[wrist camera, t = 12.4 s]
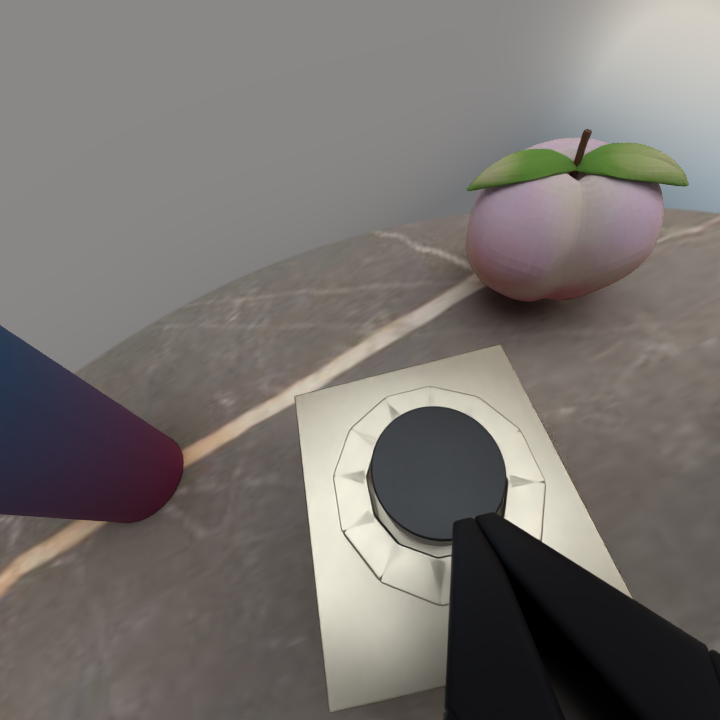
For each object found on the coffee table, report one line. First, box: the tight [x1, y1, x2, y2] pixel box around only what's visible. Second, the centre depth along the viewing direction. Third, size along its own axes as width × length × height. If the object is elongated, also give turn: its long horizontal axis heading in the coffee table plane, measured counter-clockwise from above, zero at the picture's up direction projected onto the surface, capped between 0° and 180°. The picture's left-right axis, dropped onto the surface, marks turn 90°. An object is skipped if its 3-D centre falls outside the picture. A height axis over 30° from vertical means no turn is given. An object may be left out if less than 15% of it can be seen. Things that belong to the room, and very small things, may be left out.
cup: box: [0, 326, 183, 523], centre depth 14 cm, size 7×7×15 cm
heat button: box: [371, 406, 507, 546], centre depth 11 cm, size 4×4×2 cm
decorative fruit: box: [466, 129, 689, 301], centre depth 19 cm, size 9×8×10 cm
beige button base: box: [295, 344, 633, 713], centre depth 15 cm, size 11×10×6 cm
